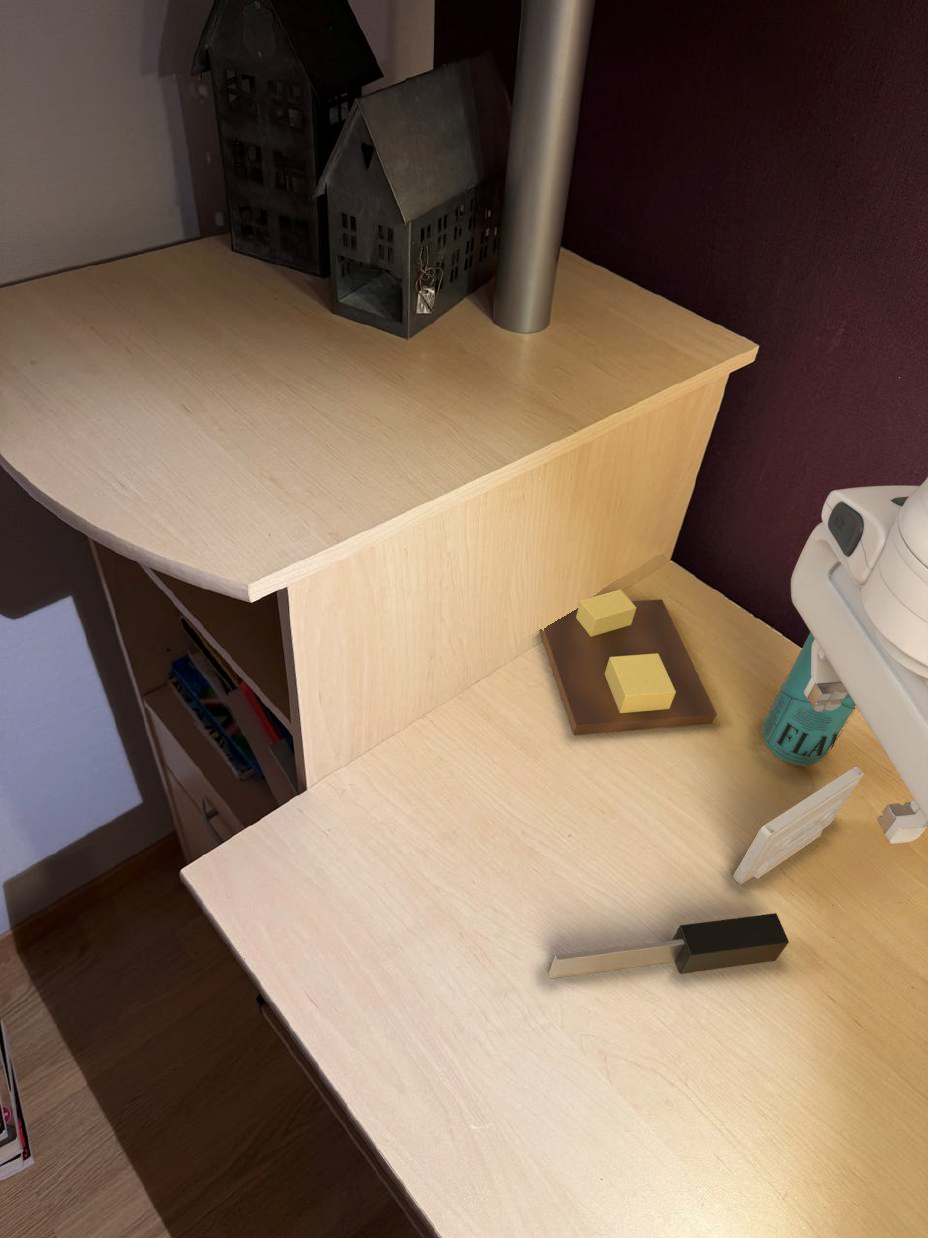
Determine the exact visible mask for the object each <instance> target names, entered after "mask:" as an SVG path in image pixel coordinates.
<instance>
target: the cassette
mask: <svg viewBox="0 0 928 1238" xmlns="http://www.w3.org/2000/svg"><path fill="white" fill-rule="evenodd" d="M863 776H865V772H864V771H863V770H861V769H860V768H859V767H858V766H857V765H855V766H854V767H853V768H850V769H848V771H846V772H845V773H843V774H842V775H840V776H838V777H837V778H835V779H833V780H832V781H830V782H829V783H827V784H826V785H824V786H822V787H821V788H819V790H816V791H815V792H813V793H812V794H810V795H809V796H807V797H805V798H804V799H803V800H801V801H799V802H798V803H797V804H795V805H793V806H792V807H790V808H789V809H787V810H786V811H784V812H782V813H781V814H779V815H778V816H777V817H775V818H773V819H772V820H770V821H768V822H767V823H765V824H764V825H762V826H761V828H759V830H758V832H757V834H756V835H755V838H754V839H753V841H752V842H751V844H750V846H749V848H748V849H747V850H746V853H745V855H744V856H743V858H742V860H741V861H740V863H739V864H738V867H737V868H736V870H735V872H734V873H733V875H732V878H733V880H735V882H737V883H738V885H740V886H741V885H743V884H744V883H746V882H747V881H749V880H751V879H752V878H755V879H757V880H758V879H760V878H762V877H763V876H765V874H767V873H769V872H770V871H772V870H773V869H774V868H776V867H778V866H779V865H780V864H782V863H784V862H785V861H786V860H788V859H789V858H790V857H792V856H793V855H795V854H796V853H798V852H799V851H801V850H802V849H804V848H805V847H806V846H808V845H810V844H811V843H812V842H814V841H816V840H817V839H818V838H820V837H821V835H822V834H823V830H825V829H826V827H828V826H830V825H832V823H833V822H834V820H835V819H836V817H837V815H838V814H839V812H840V811H841V810H842V808H843V806H844V805H845V804H846V802H847V800H848V799H849V798H850V796H851V795H852V793H853V792H854V790H855V788H856V787H857V785H858V784H859V783H860V781H861V780H862V778H863Z"/></svg>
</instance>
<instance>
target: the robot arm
mask: <svg viewBox="0 0 928 1238" xmlns="http://www.w3.org/2000/svg"><path fill="white" fill-rule="evenodd" d="M820 515H821V522H819V524H817V525H816V526H815V527H814V529H813V530H812V532H811V533H810V535H809V537H808V538H807V541H806V542H805V545H804V546H803V549H802V550H801V553H800V555H799V557H798V560H797V561H796V563H795V566H794V569H793V571H792V575H791V578H790V596H791V602H792V604H793V606H794V607H795V609H796V610H797V612H798V614H799V615H800V617H801V619H802V620H803V622H804V624H805V625H806V626H807V628H808V630H809V632H811V633H812V635H813V636H814V638H815V639H814V641H813V643H812V650H811V676H812V677H811V679H810V681H809V683H808V685H807V687H806V689H805V691H804V694H805V696H806V697H807V699H808V700H809V702H810V703H811V705H812V707H813V709H814V710H815V711H816V712H822V711H823V710H826V711H833V710H835V709H837V708H838V707H840V705H841V702H842V699H844V698H845V697H846V695H847V693H849V694H850V696H851V698H852V699H853V701H854V703H855V704H856V706H855V707H856V708H857V709H858V711H859V712H860V714H861V715H862V716H863V719H864V721H865V722H866V723H867V725H868V727H869V728H870V730H871V732H872V733H873V735H874V736H875V738H876V740H877V742H878V743H879V745H880V747H881V748H882V749H883V751H884V753H885V754H886V756H887V758H888V759H889V761H890V762H891V764H892V766H893V767H894V769H895V771H896V772H897V774H898V776H899V777H900V779H901V781H902V782H903V783H904V785H905V788H906V789H907V790H908V792H909V793H910V795H911V796H912V798H913V799H912V800H911V801H905V802H904V803H903V804H902V803H891V804H890V803H889V804H887V805H886V806H885V807H884V809H883V810H882V813H881V814H882V815H878V816H877V820H876V821H877V822H878V824H879V826H880V828H881V829H882V831H883V833H884V835H885V837H886V839H887V841H888V842H889V843H890V844H891V845H895V844H905V843H911V842H913V841H915V840H917V839H919V837H920V836H921V835H922V834H923V833H924V831H925V830H927V828H928V476H927V477H926V479H925V480H924V481H923V482H922V483H921V484H920V485H872V486H871V485H870V486H869V485H868V486H858V487H850V488H841V489H834V490H831V491H830V493H828V495H827V497H826V499H825V501H824V504H823V506H822V510H821V514H820Z"/></svg>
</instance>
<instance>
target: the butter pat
mask: <svg viewBox="0 0 928 1238" xmlns="http://www.w3.org/2000/svg"><path fill="white" fill-rule="evenodd" d="M631 601H632V600H631V599H630V598H629V597H628V596H627V595H626V593H625V592H624V591H623V590H622V589H621V588H620V589H617V590H613V591H610V592H605V593H602V594H599V595H594V596H591V597H587V598H584V599H580V600H579V603H578V604H579V608H578V612H577V616H576V618H577V620H578V621H579V622H580V624H581V625H582V626H583V627H584V629H585V630H586V631H587V633H588V634H589V635H590V636H591V637H592V636H595V635H599V634H602V633H605V632H609V631H612V630H615V629H619V628H622V627H625V626H629V625H631V624H632V620H633V617H634V614H635V611H636V607H635V605H634V604H633V603H632V602H631Z"/></svg>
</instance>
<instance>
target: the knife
mask: <svg viewBox="0 0 928 1238" xmlns="http://www.w3.org/2000/svg"><path fill="white" fill-rule="evenodd" d="M789 943H790V941H789V938H788V935H787V934H786V931H785V929H784V927H783V925H782V923H781V920H780V918H779V916H778V914H777V912H774V913H765V914H759V915H757V914H756V915H751V916H743V917H735V918H734V917H733V918H728V919H726V918H725V919H720V920H719V919H717V920H712V921H711V920H710V921H704V922H703V921H702V922H696V923H687V924H679V926H678V928H677V930H676V932H675V934H674V935H673V937H672V938H671V940H665V941H657V942H649V943H642V944H635V945H634V944H633V945H625V946H618V947H612V948H611V947H609V948H603V949H596V950H595V949H594V950H587V951H581V952H580V951H579V952H573V953H565V954H557V955H554V958H553V959H552V963H551V966H550V968H549V972H548V978H549V979H555V978H563V977H564V978H565V977H571V976H578V975H586V974H593V973H601V972H608V971H609V972H610V971H617V970H622V969H631V968H637V967H638V968H639V967H645V966H653V965H660V964H668V963H675V965H676V968H677V972H678V974H680V975H683V974H689V973H698V972H705V971H712V970H719V969H727V968H733V967H742V966H749V965H755V964H763V963H769V962H770V963H771V962H775V961H777V959H778V958H779V956H780V955H781V954H782V953H783V951H784V950H785V949H786V947H787V946H788V945H789Z"/></svg>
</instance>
